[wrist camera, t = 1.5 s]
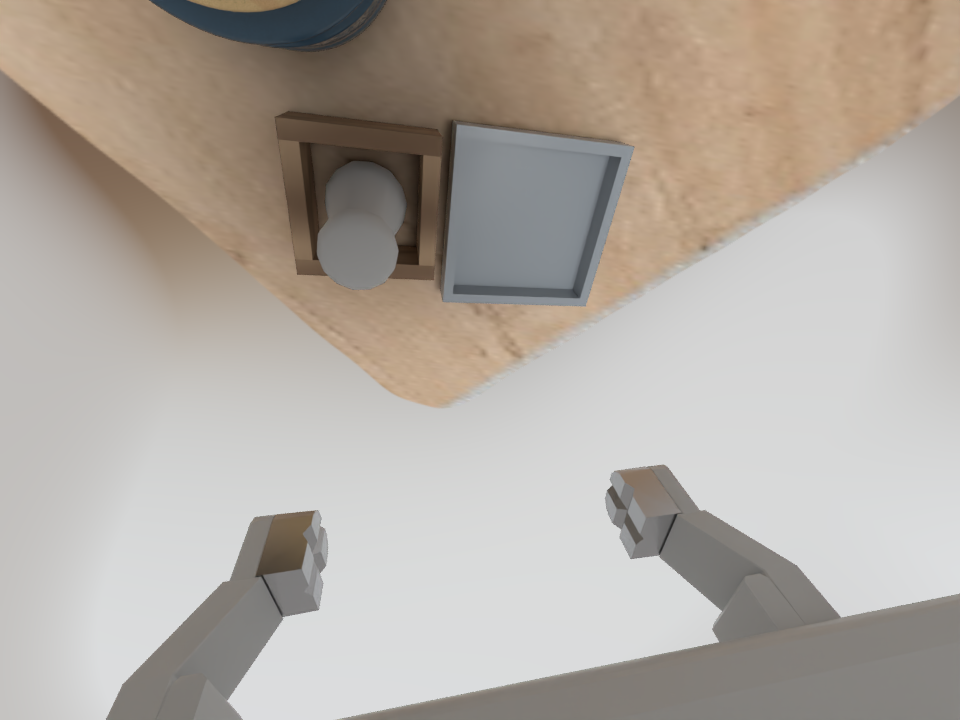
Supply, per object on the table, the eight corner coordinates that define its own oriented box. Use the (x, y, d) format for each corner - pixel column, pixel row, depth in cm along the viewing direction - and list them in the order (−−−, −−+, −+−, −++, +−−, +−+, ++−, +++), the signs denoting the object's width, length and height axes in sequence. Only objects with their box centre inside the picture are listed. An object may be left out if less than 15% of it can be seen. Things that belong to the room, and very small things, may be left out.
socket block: (288, 111, 28) (274, 117, 24) (437, 129, 30) (442, 137, 27) (306, 254, 33) (297, 274, 30) (429, 261, 36) (433, 280, 32)
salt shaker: (333, 144, 29) (300, 187, 19) (411, 166, 31) (422, 217, 21) (326, 223, 32) (295, 298, 22) (398, 239, 34) (401, 315, 24)
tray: (452, 120, 30) (457, 124, 28) (619, 141, 32) (634, 146, 30) (440, 289, 37) (442, 302, 35) (576, 294, 40) (585, 306, 38)
